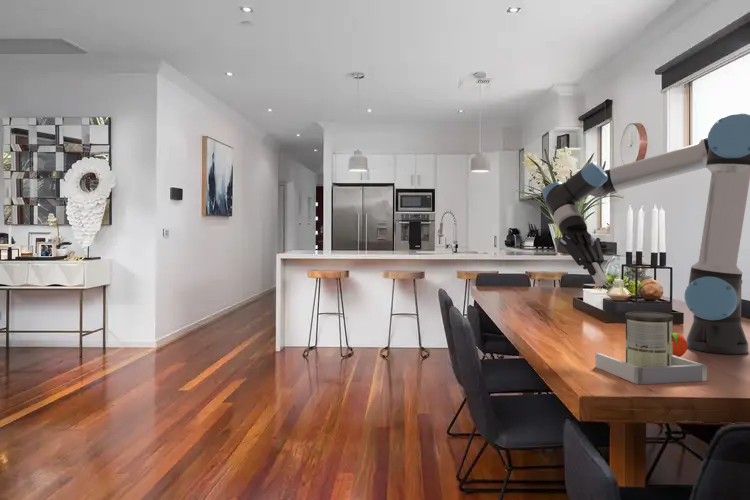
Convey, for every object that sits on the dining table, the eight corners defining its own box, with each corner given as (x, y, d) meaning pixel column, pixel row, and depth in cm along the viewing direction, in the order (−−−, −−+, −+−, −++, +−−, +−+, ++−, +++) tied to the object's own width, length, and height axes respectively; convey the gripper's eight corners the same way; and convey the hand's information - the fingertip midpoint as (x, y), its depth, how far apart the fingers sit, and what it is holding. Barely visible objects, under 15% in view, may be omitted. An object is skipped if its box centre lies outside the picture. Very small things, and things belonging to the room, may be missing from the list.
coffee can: (618, 366, 132) (618, 311, 132) (661, 367, 131) (661, 311, 131) (634, 377, 122) (635, 317, 122) (681, 378, 121) (681, 317, 121)
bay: (595, 366, 132) (595, 353, 132) (657, 363, 135) (657, 350, 135) (637, 384, 116) (638, 368, 116) (706, 380, 119) (707, 365, 119)
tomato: (691, 362, 136) (692, 335, 136) (662, 360, 138) (662, 334, 138) (683, 355, 144) (683, 330, 144) (655, 354, 146) (655, 328, 146)
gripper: (582, 232, 164) (615, 292, 149) (545, 230, 161) (575, 291, 145) (595, 215, 159) (629, 275, 143) (557, 212, 156) (588, 274, 140)
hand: (602, 283), depth 144 cm, fingers closed
